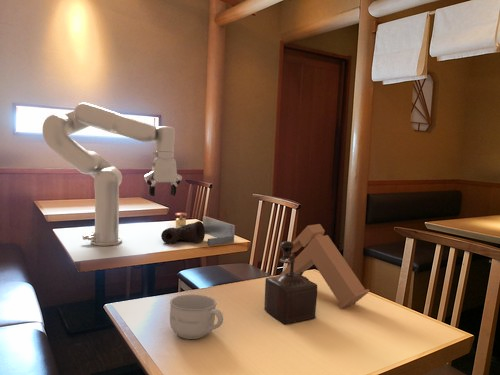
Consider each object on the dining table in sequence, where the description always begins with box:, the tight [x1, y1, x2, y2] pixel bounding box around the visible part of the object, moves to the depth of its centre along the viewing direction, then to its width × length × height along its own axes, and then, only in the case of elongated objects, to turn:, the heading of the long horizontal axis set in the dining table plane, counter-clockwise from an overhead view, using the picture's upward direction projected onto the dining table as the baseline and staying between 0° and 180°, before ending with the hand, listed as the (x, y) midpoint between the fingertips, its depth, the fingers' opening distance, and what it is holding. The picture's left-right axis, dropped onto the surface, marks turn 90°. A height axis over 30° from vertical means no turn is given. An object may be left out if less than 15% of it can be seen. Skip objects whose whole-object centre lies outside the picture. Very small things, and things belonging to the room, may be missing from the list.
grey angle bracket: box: [202, 215, 236, 247], centre depth 190 cm, size 14×24×8 cm, turn 40°
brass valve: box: [174, 212, 188, 228], centre depth 204 cm, size 6×6×9 cm
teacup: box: [169, 293, 224, 340], centre depth 95 cm, size 14×11×8 cm
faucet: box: [278, 223, 370, 310], centre depth 126 cm, size 7×23×25 cm
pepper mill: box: [263, 240, 318, 326], centre depth 111 cm, size 16×11×18 cm
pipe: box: [160, 220, 206, 244], centre depth 183 cm, size 10×15×15 cm
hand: (162, 195), depth 175 cm, fingers open, 9 cm apart
